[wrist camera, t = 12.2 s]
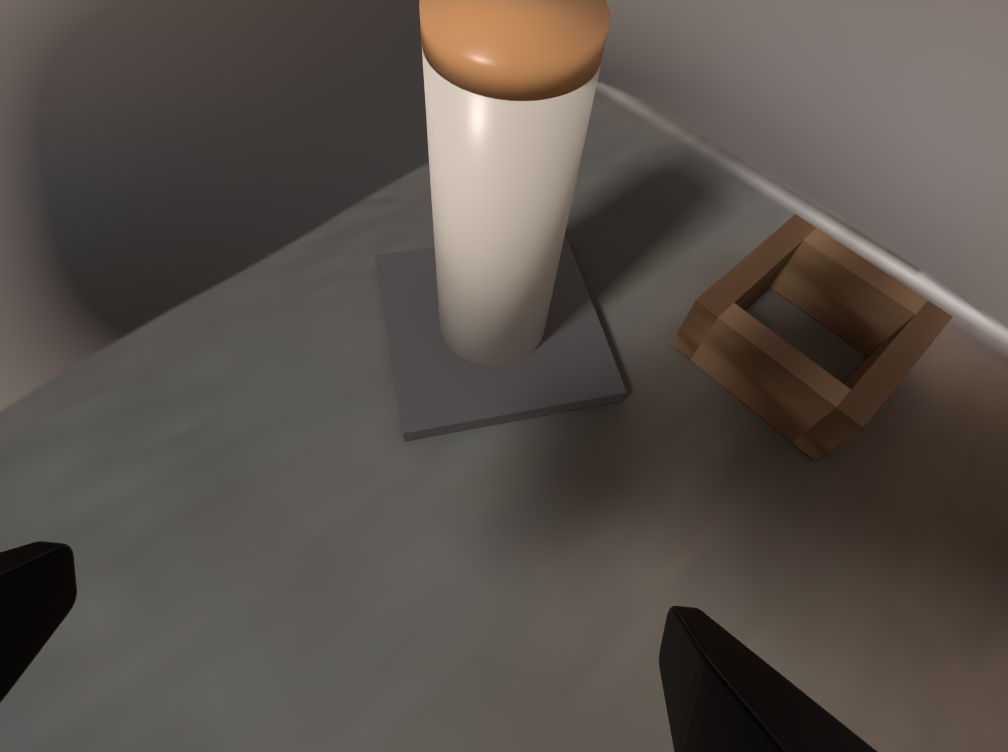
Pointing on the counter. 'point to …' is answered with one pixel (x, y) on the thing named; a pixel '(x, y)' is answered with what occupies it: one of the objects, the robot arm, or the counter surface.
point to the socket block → (831, 301)
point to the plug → (504, 159)
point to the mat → (490, 389)
